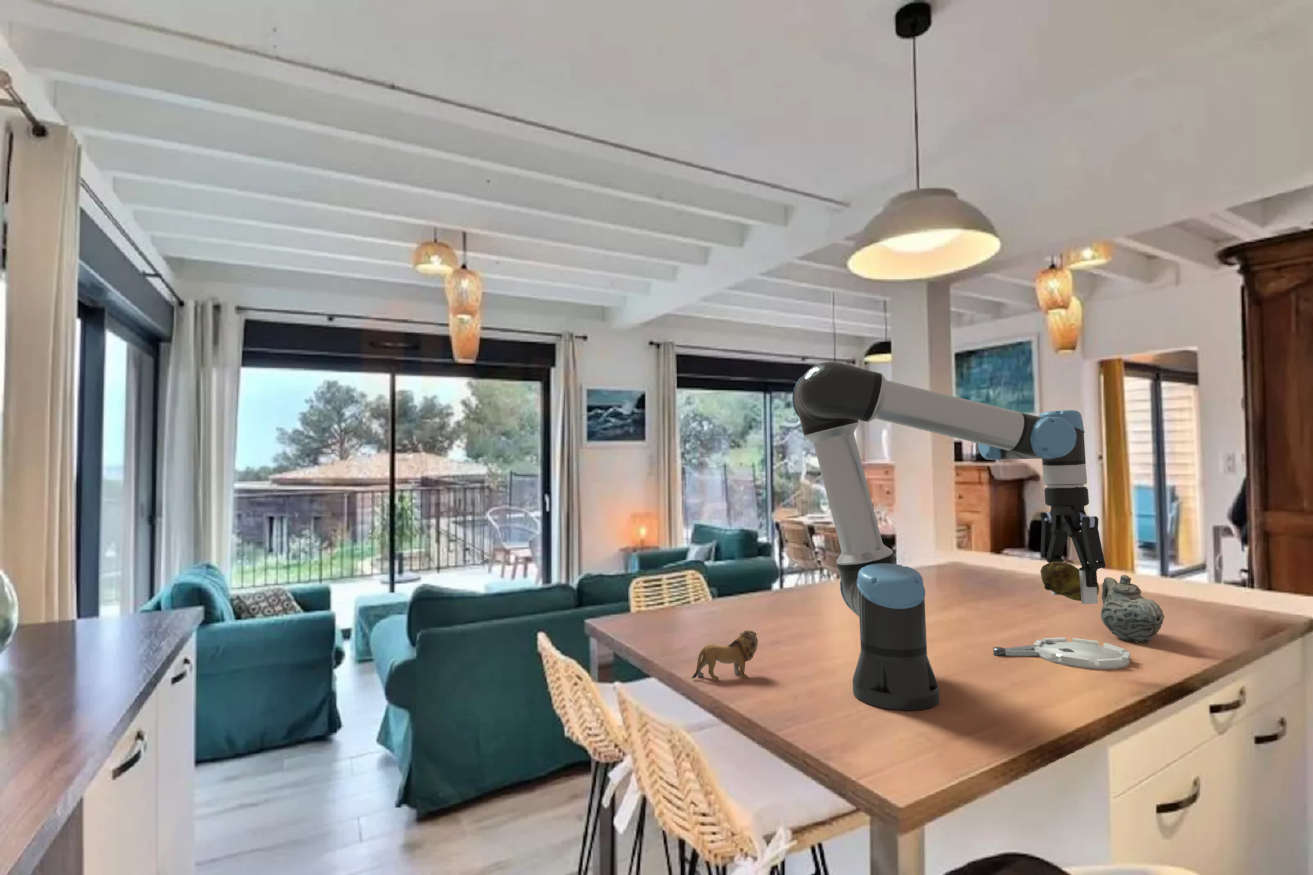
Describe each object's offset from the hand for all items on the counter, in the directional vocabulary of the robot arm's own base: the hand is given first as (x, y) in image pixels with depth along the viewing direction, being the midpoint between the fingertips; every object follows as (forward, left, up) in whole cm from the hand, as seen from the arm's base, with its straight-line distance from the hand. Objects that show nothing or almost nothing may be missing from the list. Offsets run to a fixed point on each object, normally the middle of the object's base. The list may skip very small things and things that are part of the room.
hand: (1073, 598), depth 127 cm
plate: (+8, +10, -15) cm, 19 cm away
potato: (0, 0, -1) cm, 1 cm away
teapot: (+29, +21, -15) cm, 39 cm away
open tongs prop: (-1, +14, -15) cm, 20 cm away
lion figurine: (-70, +10, -15) cm, 72 cm away
